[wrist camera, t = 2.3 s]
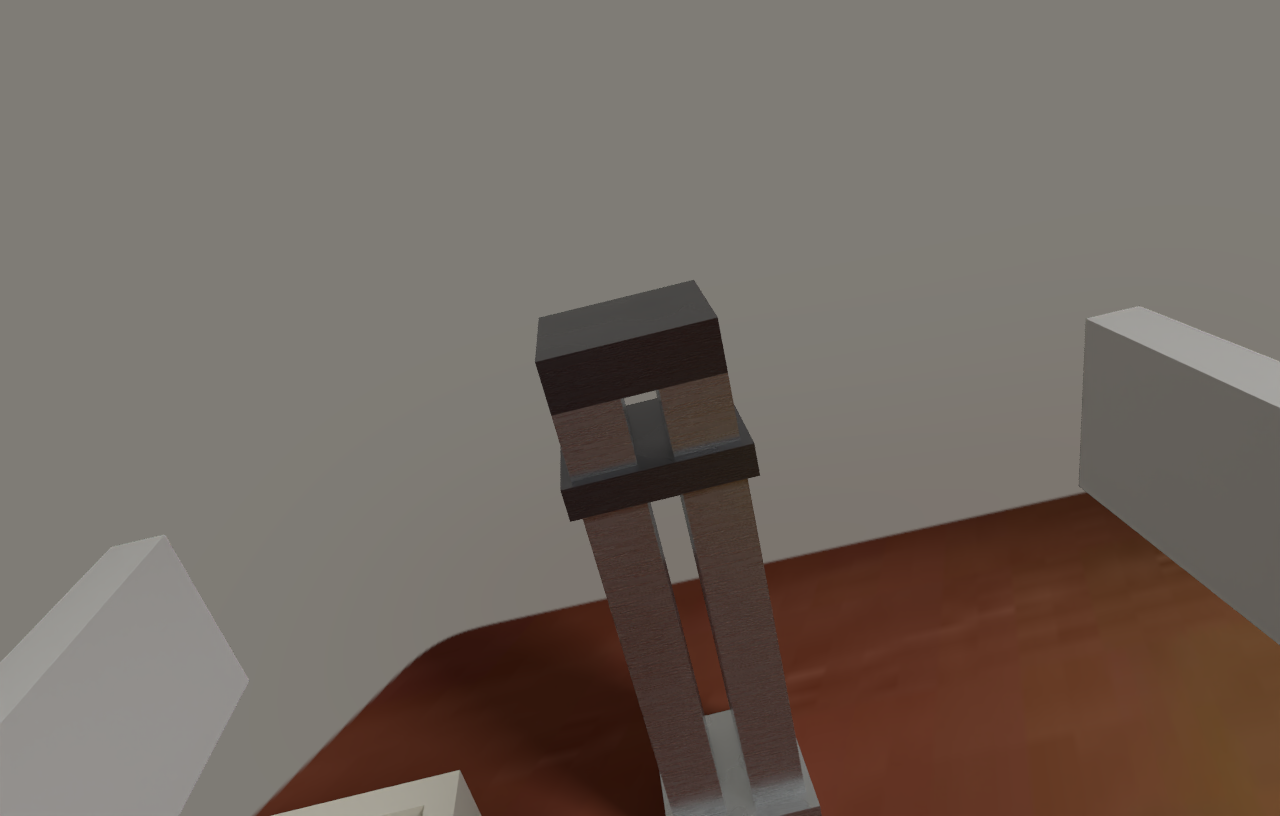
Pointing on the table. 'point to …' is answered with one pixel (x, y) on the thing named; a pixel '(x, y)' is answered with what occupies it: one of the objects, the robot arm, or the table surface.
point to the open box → (403, 800)
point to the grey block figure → (718, 528)
